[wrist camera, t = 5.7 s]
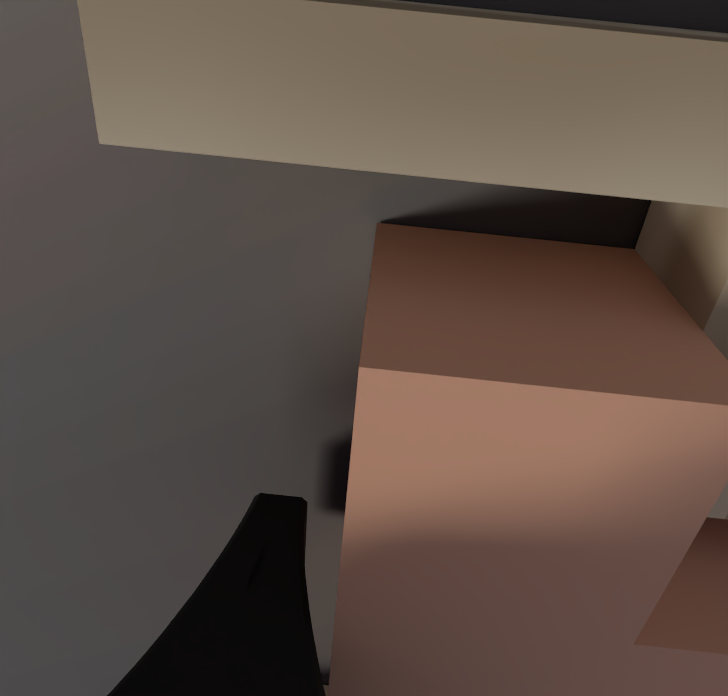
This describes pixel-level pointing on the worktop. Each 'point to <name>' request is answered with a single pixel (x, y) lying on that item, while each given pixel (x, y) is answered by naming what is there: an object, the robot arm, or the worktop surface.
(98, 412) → the worktop surface
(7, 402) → the worktop surface
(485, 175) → the nest
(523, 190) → the worktop surface
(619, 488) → the tee
